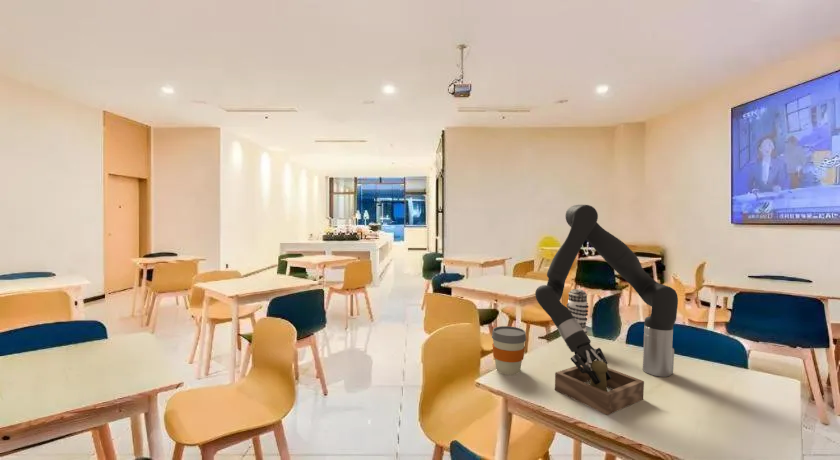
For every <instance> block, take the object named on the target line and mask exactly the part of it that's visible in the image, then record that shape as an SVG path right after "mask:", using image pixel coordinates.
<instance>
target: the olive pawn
mask: <svg viewBox="0 0 840 460" xmlns="http://www.w3.org/2000/svg"><path fill="white" fill-rule="evenodd" d="M592 367H593V371H595V372H596V374H597V376H598V377H599V379H600V380H601V382H600V383H599V384H597V385H596V384H595V383H594V382H593V381H592V379H591V380H590V381H589V385H591V386H593V387H596V388H598V389H600V390H603V391H605V392H608V387H607V381H606V372H607V370H608V368H609V367H608V364H606V363H605V362H603V360H601V361H596V360H595V361H592Z"/></svg>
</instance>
